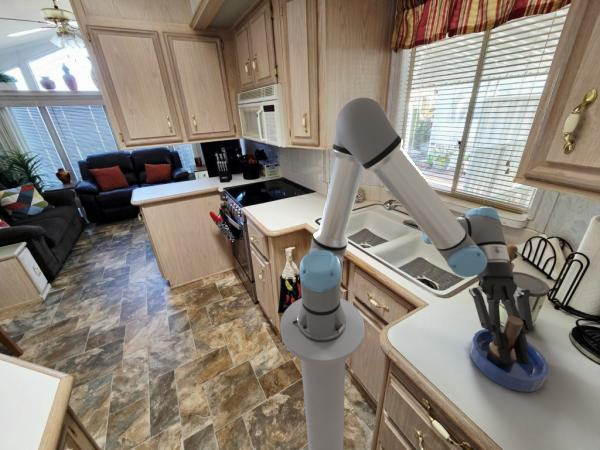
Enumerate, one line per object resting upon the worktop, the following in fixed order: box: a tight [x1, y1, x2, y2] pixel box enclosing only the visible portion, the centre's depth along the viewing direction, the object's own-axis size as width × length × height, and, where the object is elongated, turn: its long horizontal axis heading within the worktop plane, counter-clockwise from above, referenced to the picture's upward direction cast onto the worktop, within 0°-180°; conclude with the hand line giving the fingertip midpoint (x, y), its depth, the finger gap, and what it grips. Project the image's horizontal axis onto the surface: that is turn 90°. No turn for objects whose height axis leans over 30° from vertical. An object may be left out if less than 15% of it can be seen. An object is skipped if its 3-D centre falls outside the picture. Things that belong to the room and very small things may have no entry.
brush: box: [487, 316, 523, 371], centre depth 60 cm, size 6×6×14 cm
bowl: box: [469, 328, 549, 393], centre depth 62 cm, size 15×15×4 cm
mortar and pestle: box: [506, 244, 519, 270], centre depth 85 cm, size 7×6×18 cm
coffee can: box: [499, 271, 551, 328], centre depth 73 cm, size 10×10×14 cm
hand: (514, 362), depth 58 cm, fingers closed on brush, 3 cm apart
